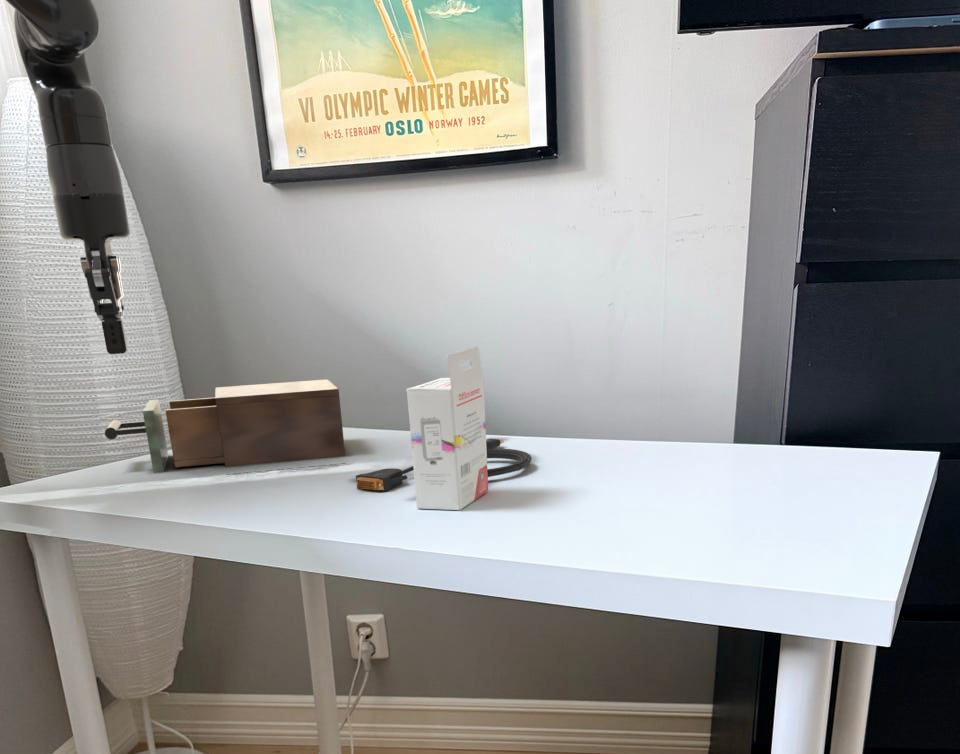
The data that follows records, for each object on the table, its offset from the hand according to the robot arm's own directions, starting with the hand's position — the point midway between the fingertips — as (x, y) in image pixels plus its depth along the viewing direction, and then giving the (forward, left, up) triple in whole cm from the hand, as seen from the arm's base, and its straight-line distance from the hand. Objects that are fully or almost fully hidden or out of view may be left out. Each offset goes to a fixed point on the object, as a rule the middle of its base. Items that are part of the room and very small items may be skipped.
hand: (117, 353), depth 111 cm
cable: (+39, -18, -15) cm, 45 cm away
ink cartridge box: (+33, -32, -15) cm, 48 cm away
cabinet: (+18, 0, -15) cm, 23 cm away
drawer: (+6, 0, -14) cm, 15 cm away
